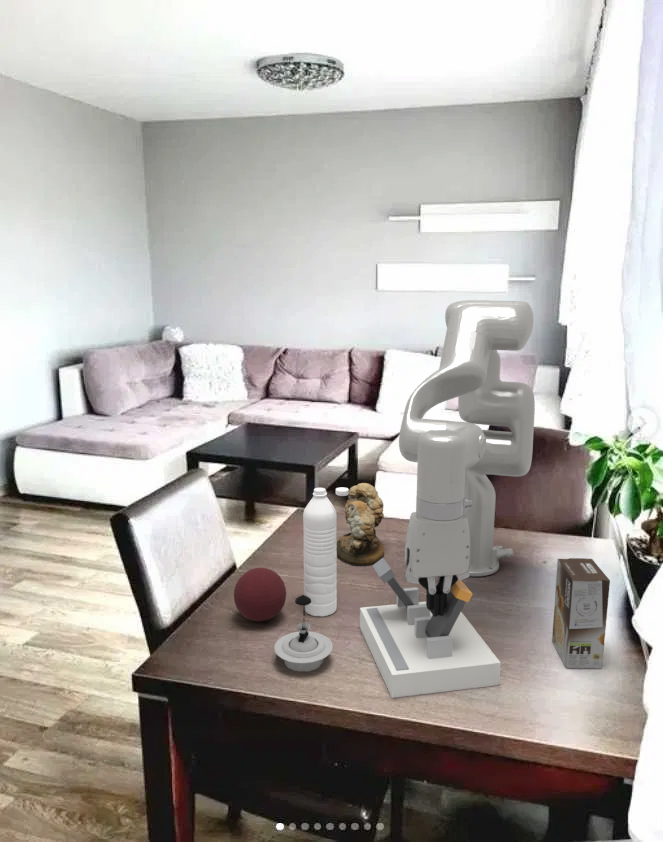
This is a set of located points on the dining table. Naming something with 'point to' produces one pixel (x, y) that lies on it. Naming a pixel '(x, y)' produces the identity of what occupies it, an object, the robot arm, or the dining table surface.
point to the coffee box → (580, 612)
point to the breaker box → (425, 650)
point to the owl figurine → (362, 527)
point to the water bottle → (321, 553)
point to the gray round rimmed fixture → (303, 645)
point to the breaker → (392, 581)
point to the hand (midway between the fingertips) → (435, 612)
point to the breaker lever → (449, 611)
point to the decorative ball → (260, 594)
